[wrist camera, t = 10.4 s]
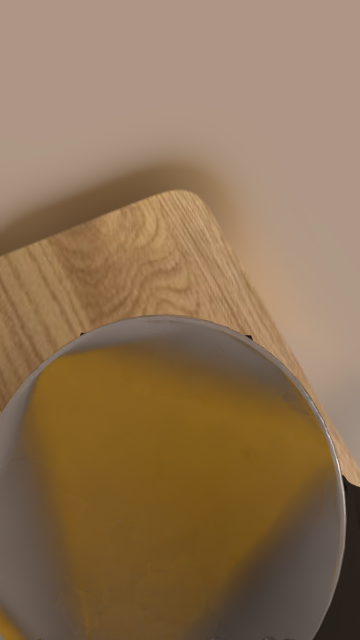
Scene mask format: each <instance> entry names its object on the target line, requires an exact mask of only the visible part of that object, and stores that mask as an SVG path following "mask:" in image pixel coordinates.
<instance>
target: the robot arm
mask: <svg viewBox="0 0 360 640" xmlns="http://www.w3.org/2000/svg"><path fill="white" fill-rule="evenodd" d="M83 334H85V333H81V334H80V336H81V335H83ZM244 336H246V337H248V338H249V339H251V340H253V339H252V337H251V335H244ZM342 479H343V485H344V491H345V503H346V538H345V550H344V556H343V562H342V567H341V573H340V577H339V581H338V584H337V587H336V591H335V594H334V597H333V601H332V604H331V606H330V608H329V610H328V613H327V615H326V617H325V619H324V622H323V624H322V626H321V628H320V630H319V632H318V634H317V635H316V637H315V639H314V640H360V487H358V486H355V485H353V484H351V483H349V482H348V481H347V479H346V478H345V477H344V476H343V475H342Z"/></svg>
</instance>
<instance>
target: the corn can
mask: <svg viewBox="0 0 360 640" xmlns="http://www.w3.org/2000/svg"><path fill="white" fill-rule="evenodd" d="M345 538H346V503H345V491H344V485H343V479H342V474H341V468H340V464H339V461H338V457H337V454H336V451H335V447H334V444H333V441H332V439H331V436H330V434H329V432H328V429H327V427H326V425H325V422H324V420H323V418H322V416H321V415H320V413H319V411H318V409H317V408H316V406H315V404H314V402H313V401H312V399H311V397H310V396H309V395H308V393H307V392H306V391H305V389H304V388H303V386H302V385H301V384H300V382H299V381H298V380H297V379H296V377H295V376H294V375H293V374H292V373H291V372H290V371H289V370H288V369H287V368H286V367H285V366H284V365H283V364H282V363H281V362H280V361H279V360H278V359H277V358H275V357H274V356H273V355H272V354H271V353H270V352H268V351H267V350H266V349H265V348H263V347H262V346H260V345H259V344H257V343H256V342H254V341H253V340H251V339H249V338H248V337H246V336H244V335H242V334H240V333H238V332H236V331H234V330H232V329H230V328H228V327H225V326H222V325H219V324H216V323H214V322H211V321H208V320H203V319H198V318H193V317H189V316H179V315H166V314H165V315H144V316H139V317H133V318H127V319H122V320H119V321H116V322H113V323H109V324H106V325H103V326H100V327H98V328H96V329H94V330H91V331H89V332H87V333H85V334H83V335H81V336H79V337H78V338H76V339H74V340H72V341H71V342H69V343H67V344H66V345H64V346H63V347H61V348H60V349H59V350H57V351H56V352H55V353H54V354H52V355H51V356H50V357H48V358H47V359H46V360H45V361H44V362H43V363H41V364H40V365H39V366H38V367H37V368H36V369H35V370H34V371H33V372H32V373H31V374H30V375H29V376H28V377H27V378H26V380H25V381H24V382H23V383H22V385H21V386H20V387H19V388H18V390H17V391H16V392H15V393H14V395H13V396H12V397H11V399H10V400H9V402H8V404H7V405H6V407H5V408H4V410H3V411H2V413H1V415H0V640H314V639H315V637H316V635H317V634H318V632H319V630H320V628H321V626H322V624H323V622H324V619H325V617H326V615H327V613H328V610H329V608H330V606H331V604H332V601H333V597H334V594H335V591H336V587H337V584H338V581H339V577H340V573H341V567H342V562H343V556H344V550H345Z"/></svg>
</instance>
